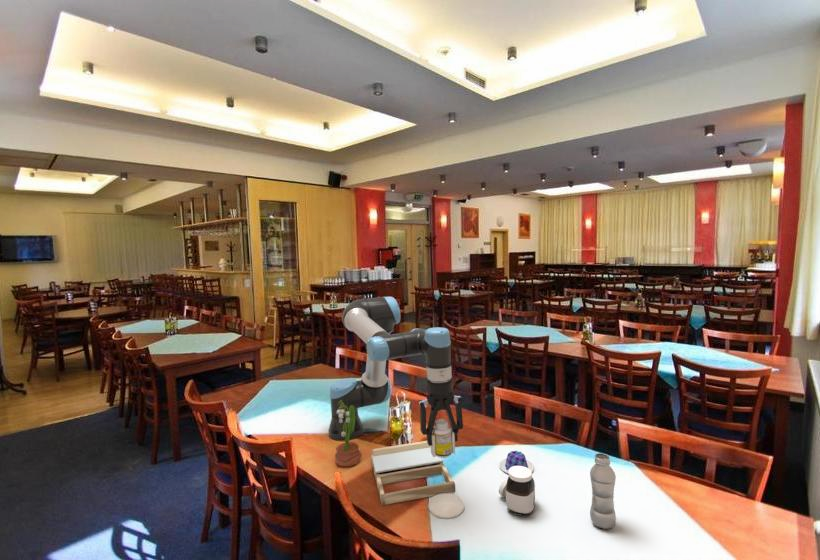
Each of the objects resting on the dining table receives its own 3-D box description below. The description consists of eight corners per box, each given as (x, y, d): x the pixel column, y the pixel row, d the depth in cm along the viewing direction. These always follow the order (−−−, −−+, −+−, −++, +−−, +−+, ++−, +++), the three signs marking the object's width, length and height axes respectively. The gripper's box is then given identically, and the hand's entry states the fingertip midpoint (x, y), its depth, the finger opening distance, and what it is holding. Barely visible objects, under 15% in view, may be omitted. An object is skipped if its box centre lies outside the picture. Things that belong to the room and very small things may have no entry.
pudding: (541, 469, 144) (540, 454, 143) (519, 481, 136) (519, 467, 136) (514, 456, 153) (513, 442, 153) (492, 467, 146) (492, 453, 146)
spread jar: (529, 522, 116) (528, 483, 115) (491, 510, 122) (490, 473, 121) (539, 499, 126) (538, 463, 125) (504, 489, 132) (503, 455, 131)
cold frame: (371, 463, 152) (371, 456, 152) (433, 453, 157) (433, 446, 157) (381, 505, 127) (381, 496, 127) (455, 491, 132) (454, 483, 132)
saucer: (424, 499, 129) (424, 496, 129) (457, 493, 131) (457, 490, 131) (434, 522, 118) (434, 518, 118) (469, 515, 120) (469, 511, 120)
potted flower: (354, 472, 147) (350, 405, 145) (329, 470, 149) (324, 405, 147) (364, 455, 158) (361, 393, 157) (341, 454, 160) (337, 393, 159)
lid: (371, 455, 151) (370, 449, 151) (433, 445, 157) (433, 439, 156) (375, 473, 139) (375, 466, 139) (443, 461, 144) (442, 455, 144)
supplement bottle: (437, 448, 127) (435, 417, 126) (454, 451, 125) (452, 419, 124) (431, 457, 122) (429, 424, 121) (449, 460, 120) (447, 426, 119)
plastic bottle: (585, 518, 116) (584, 451, 115) (607, 515, 117) (607, 449, 116) (597, 533, 110) (596, 463, 109) (621, 531, 111) (620, 461, 109)
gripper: (412, 386, 116) (416, 464, 118) (472, 379, 120) (476, 454, 122) (407, 379, 123) (410, 452, 125) (464, 372, 127) (467, 443, 129)
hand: (443, 453), depth 123 cm, fingers closed on supplement bottle, 5 cm apart
